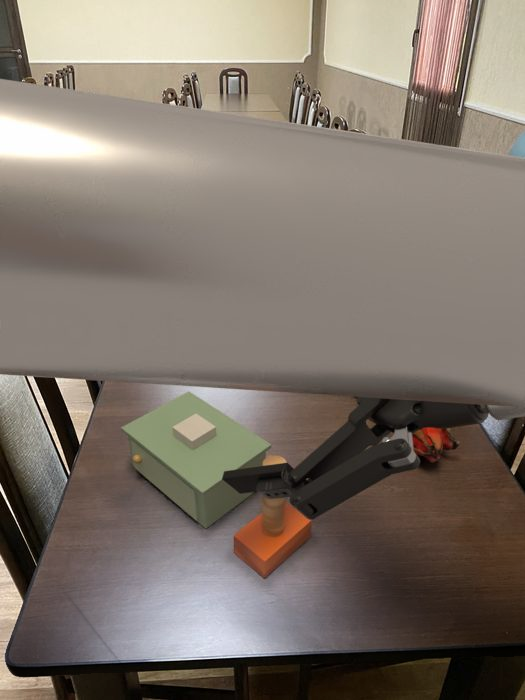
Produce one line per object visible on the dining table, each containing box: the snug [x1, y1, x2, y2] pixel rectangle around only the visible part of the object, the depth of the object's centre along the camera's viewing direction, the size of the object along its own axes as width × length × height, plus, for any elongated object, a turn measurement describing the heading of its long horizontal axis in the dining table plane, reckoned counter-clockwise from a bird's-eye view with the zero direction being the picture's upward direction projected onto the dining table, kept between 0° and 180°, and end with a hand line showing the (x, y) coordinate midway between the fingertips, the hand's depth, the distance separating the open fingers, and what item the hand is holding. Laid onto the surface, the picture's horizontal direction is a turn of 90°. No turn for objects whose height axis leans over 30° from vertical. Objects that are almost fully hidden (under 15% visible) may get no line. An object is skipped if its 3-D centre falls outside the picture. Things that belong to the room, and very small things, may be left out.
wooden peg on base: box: [233, 454, 313, 579], centre depth 60 cm, size 5×8×13 cm, turn 136°
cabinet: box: [120, 391, 272, 530], centre depth 72 cm, size 17×12×7 cm
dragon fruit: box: [412, 427, 461, 464], centre depth 77 cm, size 8×8×12 cm
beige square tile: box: [172, 414, 216, 450], centre depth 70 cm, size 4×4×2 cm
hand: (248, 417), depth 51 cm, fingers open, 13 cm apart
